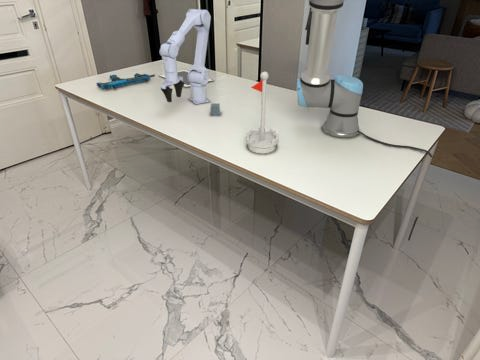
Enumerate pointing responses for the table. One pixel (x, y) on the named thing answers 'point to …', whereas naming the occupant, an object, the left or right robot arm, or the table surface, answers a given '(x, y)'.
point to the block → (215, 109)
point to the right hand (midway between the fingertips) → (312, 42)
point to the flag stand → (262, 125)
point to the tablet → (185, 77)
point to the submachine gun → (124, 81)
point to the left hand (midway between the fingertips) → (174, 99)
